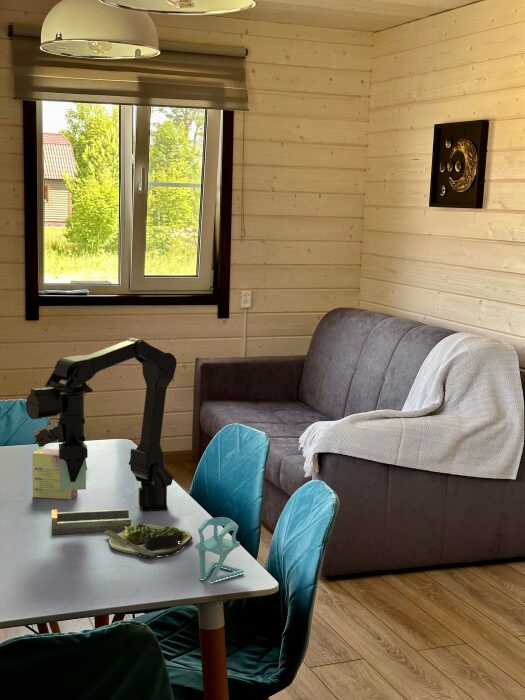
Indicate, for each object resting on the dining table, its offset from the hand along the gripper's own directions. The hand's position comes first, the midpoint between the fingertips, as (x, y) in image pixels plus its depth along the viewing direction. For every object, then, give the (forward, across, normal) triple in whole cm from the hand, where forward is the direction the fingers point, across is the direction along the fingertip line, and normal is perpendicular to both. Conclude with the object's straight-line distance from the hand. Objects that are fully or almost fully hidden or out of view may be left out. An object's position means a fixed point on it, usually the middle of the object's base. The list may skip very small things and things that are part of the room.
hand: (72, 478), depth 213 cm
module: (+2, 0, 0) cm, 2 cm away
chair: (+12, +34, +28) cm, 46 cm away
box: (+12, -25, -4) cm, 28 cm away
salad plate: (+12, +14, +17) cm, 25 cm away
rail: (+12, 0, +4) cm, 13 cm away
